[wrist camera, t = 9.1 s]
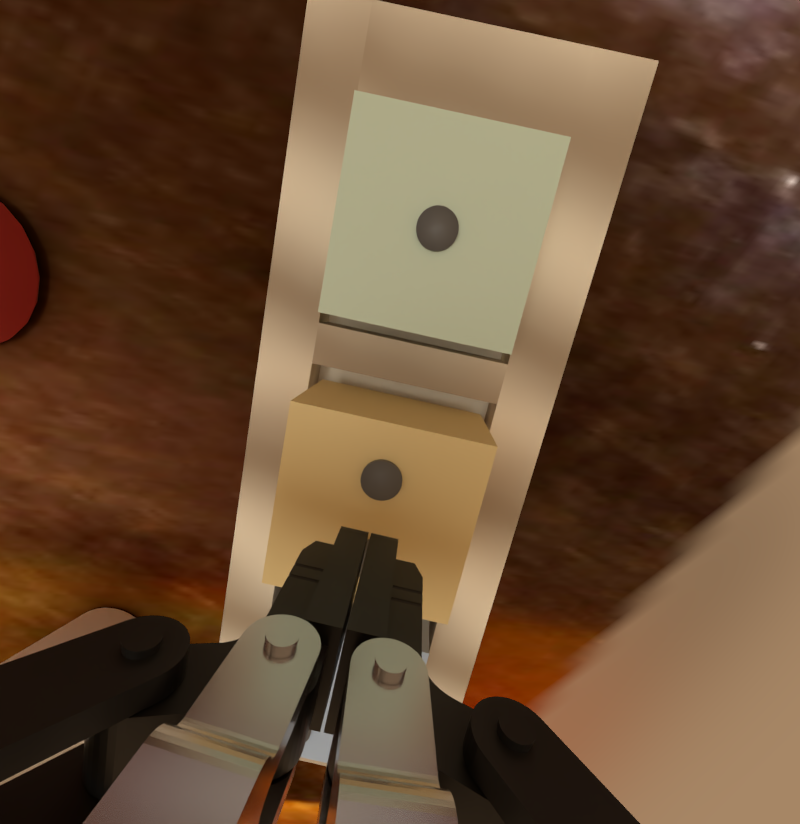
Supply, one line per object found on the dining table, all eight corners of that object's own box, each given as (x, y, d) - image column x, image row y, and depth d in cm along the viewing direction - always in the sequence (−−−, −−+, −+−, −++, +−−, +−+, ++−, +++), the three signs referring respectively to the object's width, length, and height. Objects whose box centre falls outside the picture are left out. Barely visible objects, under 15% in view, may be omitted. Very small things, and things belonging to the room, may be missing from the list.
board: (324, 27, 15) (309, -15, 13) (629, 92, 15) (658, 61, 13) (225, 701, 22) (206, 738, 20) (434, 749, 22) (435, 790, 20)
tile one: (372, 145, 16) (353, 86, 12) (534, 180, 16) (573, 134, 12) (342, 311, 17) (316, 311, 13) (491, 344, 17) (512, 355, 13)
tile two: (322, 379, 16) (288, 402, 12) (480, 414, 16) (499, 449, 12) (297, 522, 18) (259, 586, 13) (442, 555, 18) (447, 629, 13)
